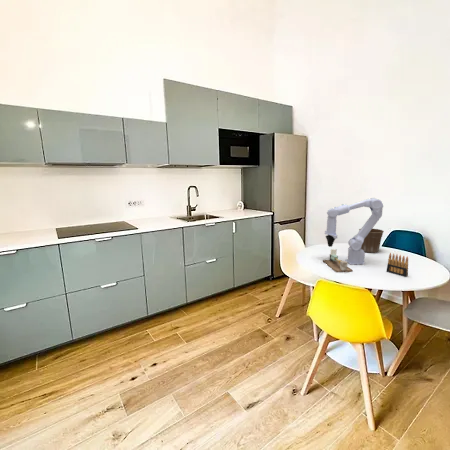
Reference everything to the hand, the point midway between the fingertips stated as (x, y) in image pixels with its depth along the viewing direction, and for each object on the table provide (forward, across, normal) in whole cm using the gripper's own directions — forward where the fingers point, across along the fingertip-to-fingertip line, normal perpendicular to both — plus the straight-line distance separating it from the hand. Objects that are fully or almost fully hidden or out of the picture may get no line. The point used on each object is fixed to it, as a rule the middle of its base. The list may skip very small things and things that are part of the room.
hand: (330, 246), depth 175 cm
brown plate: (+10, +11, 0) cm, 15 cm away
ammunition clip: (+10, +27, +28) cm, 40 cm away
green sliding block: (+7, +7, 0) cm, 10 cm away
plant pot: (+10, -19, +39) cm, 45 cm away
